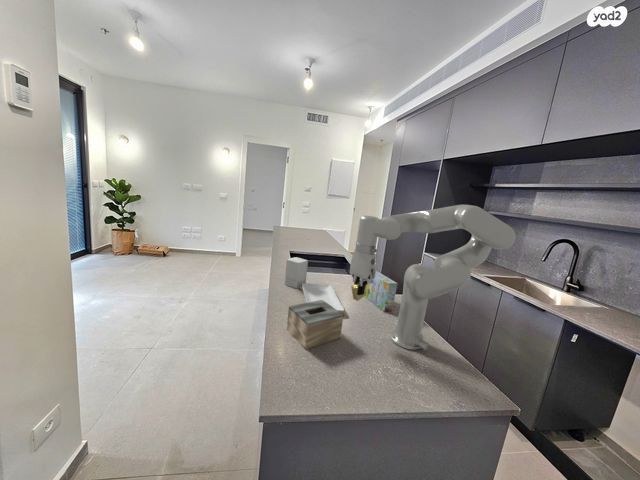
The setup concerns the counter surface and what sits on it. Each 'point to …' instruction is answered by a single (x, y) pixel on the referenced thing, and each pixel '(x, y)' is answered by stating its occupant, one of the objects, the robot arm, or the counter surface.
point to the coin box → (314, 323)
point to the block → (355, 292)
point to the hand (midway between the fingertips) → (358, 293)
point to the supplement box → (296, 272)
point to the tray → (322, 295)
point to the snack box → (382, 292)
